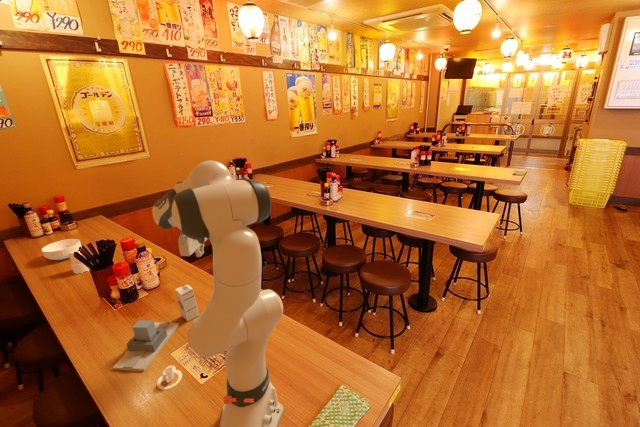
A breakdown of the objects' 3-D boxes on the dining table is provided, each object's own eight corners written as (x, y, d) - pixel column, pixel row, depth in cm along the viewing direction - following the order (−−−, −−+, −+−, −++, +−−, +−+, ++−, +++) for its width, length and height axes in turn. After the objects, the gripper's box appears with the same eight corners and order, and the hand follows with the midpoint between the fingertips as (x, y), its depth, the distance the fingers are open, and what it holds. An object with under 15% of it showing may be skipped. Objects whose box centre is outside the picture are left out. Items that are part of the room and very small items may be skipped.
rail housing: (144, 371, 109) (141, 361, 107) (113, 369, 110) (109, 360, 108) (179, 324, 131) (177, 316, 129) (153, 324, 132) (150, 315, 131)
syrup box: (199, 315, 136) (193, 287, 132) (186, 322, 132) (180, 294, 127) (193, 310, 140) (187, 283, 135) (181, 316, 136) (174, 289, 131)
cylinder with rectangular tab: (69, 273, 177) (62, 255, 173) (83, 266, 185) (77, 248, 181) (82, 274, 175) (76, 256, 171) (95, 266, 184) (89, 249, 180)
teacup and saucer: (167, 368, 110) (164, 359, 108) (187, 369, 109) (185, 361, 107) (152, 389, 102) (149, 380, 100) (174, 391, 101) (171, 382, 99)
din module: (152, 346, 118) (146, 327, 114) (136, 345, 118) (130, 327, 115) (158, 338, 121) (153, 320, 118) (143, 338, 122) (137, 320, 119)
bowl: (90, 251, 205) (86, 239, 202) (60, 265, 187) (55, 253, 185) (69, 248, 211) (65, 237, 208) (38, 262, 193) (33, 250, 190)
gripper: (187, 233, 103) (195, 269, 108) (213, 213, 122) (218, 243, 127) (170, 233, 104) (178, 268, 108) (198, 213, 123) (204, 243, 127)
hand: (200, 255), depth 118 cm, fingers closed
